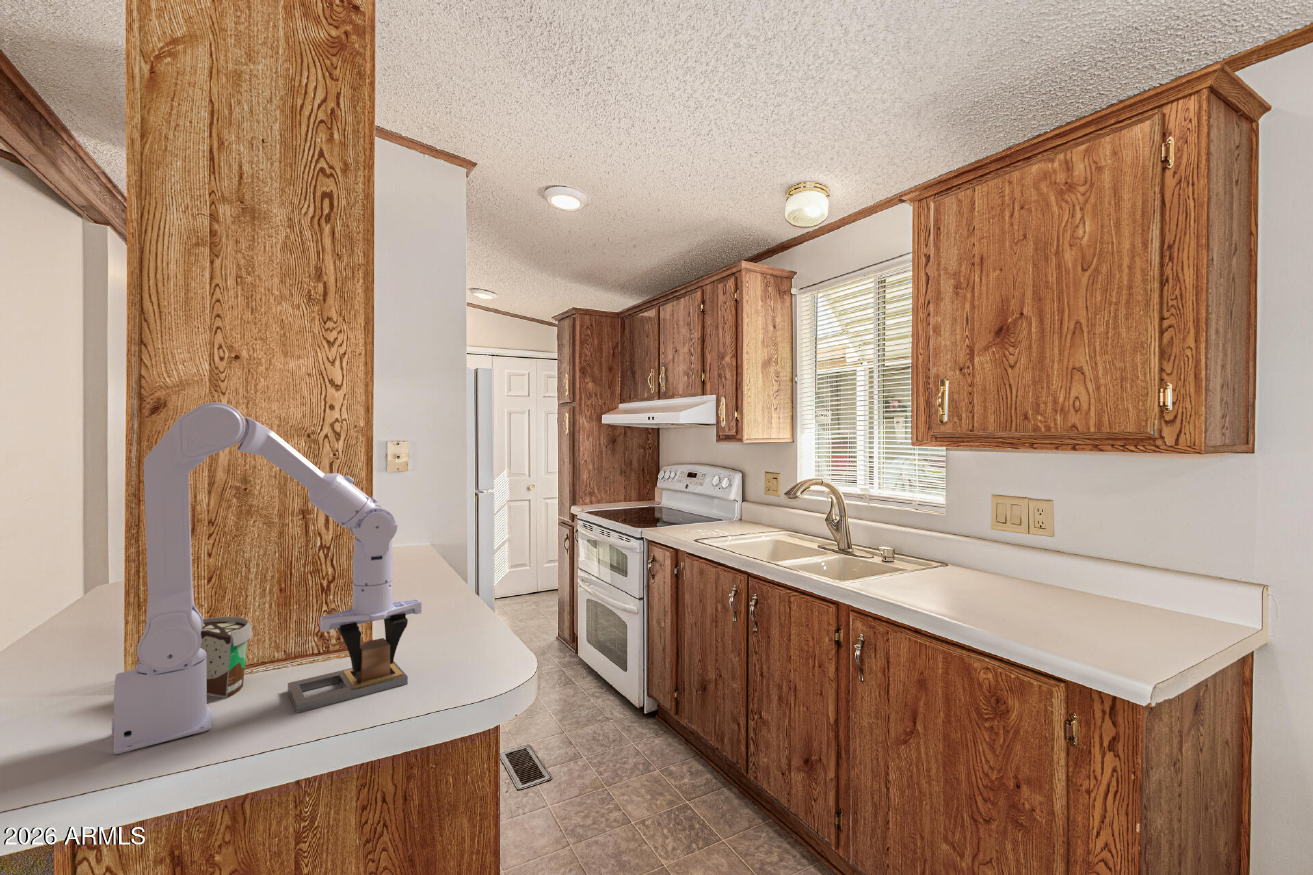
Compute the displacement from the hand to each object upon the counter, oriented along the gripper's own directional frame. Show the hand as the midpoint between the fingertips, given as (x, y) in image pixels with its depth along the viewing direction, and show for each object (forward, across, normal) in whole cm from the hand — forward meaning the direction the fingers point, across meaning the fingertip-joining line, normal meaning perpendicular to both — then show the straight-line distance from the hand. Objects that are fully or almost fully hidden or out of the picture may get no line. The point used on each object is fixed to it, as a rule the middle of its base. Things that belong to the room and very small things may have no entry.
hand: (372, 666), depth 91 cm
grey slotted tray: (+2, -4, 0) cm, 4 cm away
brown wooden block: (+2, 0, 0) cm, 3 cm away
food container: (+3, -18, +13) cm, 23 cm away
